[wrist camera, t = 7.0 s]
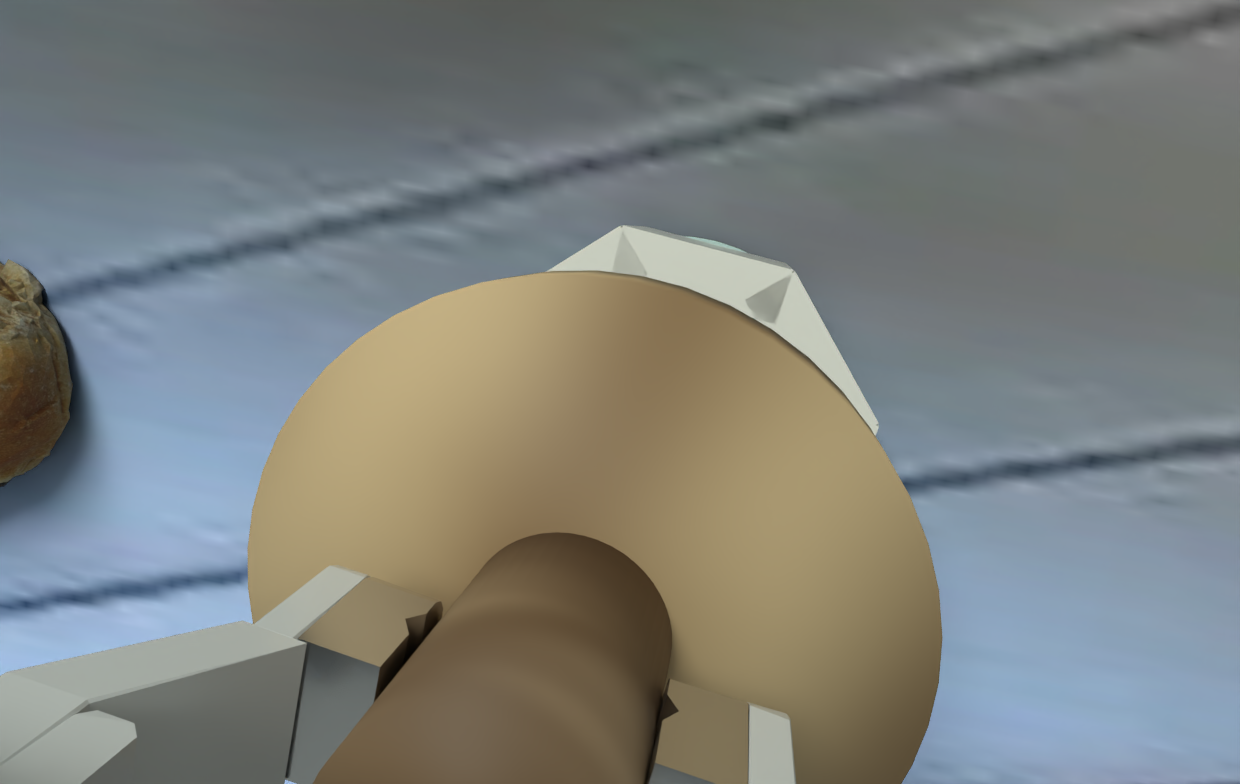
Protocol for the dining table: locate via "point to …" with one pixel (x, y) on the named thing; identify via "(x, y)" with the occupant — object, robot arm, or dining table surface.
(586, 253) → the octagonal jar
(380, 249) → the dining table surface
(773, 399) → the wooden lid
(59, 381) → the bread roll
